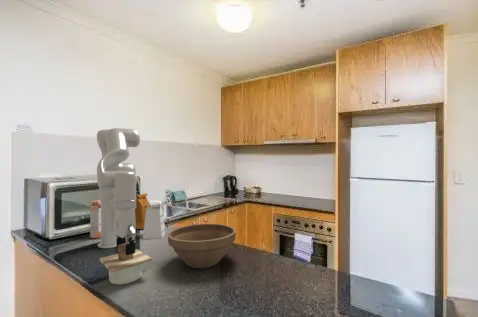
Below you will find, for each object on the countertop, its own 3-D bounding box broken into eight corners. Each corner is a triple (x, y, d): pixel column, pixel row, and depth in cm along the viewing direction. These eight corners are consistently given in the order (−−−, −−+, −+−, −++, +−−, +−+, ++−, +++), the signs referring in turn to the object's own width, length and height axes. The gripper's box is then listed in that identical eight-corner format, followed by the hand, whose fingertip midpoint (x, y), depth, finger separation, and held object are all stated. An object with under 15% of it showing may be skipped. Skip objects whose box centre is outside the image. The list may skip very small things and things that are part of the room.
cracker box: (98, 238, 141) (98, 201, 141) (89, 238, 142) (89, 201, 142) (115, 232, 155) (115, 197, 155) (107, 231, 156) (107, 197, 156)
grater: (147, 233, 151) (147, 200, 151) (165, 232, 152) (165, 199, 152) (142, 238, 140) (142, 203, 141) (162, 238, 141) (161, 202, 142)
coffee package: (154, 225, 169) (154, 193, 169) (142, 230, 157) (142, 195, 157) (141, 224, 172) (141, 192, 172) (128, 229, 160) (128, 195, 160)
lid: (99, 260, 94) (99, 244, 94) (137, 251, 104) (137, 236, 104) (111, 272, 84) (111, 254, 84) (151, 260, 93) (151, 244, 93)
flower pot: (155, 262, 107) (155, 231, 107) (206, 245, 128) (206, 219, 128) (196, 284, 88) (196, 246, 88) (249, 260, 108) (249, 229, 109)
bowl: (105, 277, 94) (105, 260, 94) (134, 268, 101) (134, 253, 101) (115, 287, 86) (115, 269, 86) (145, 277, 93) (145, 261, 93)
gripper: (107, 203, 98) (107, 247, 97) (123, 209, 85) (123, 260, 85) (127, 201, 103) (127, 243, 103) (144, 206, 90) (145, 254, 90)
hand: (125, 250), depth 94 cm, fingers open, 9 cm apart
